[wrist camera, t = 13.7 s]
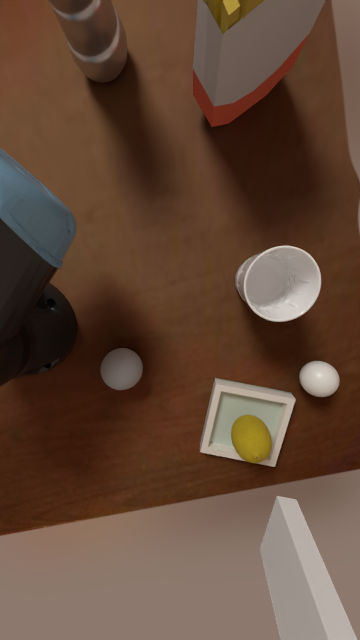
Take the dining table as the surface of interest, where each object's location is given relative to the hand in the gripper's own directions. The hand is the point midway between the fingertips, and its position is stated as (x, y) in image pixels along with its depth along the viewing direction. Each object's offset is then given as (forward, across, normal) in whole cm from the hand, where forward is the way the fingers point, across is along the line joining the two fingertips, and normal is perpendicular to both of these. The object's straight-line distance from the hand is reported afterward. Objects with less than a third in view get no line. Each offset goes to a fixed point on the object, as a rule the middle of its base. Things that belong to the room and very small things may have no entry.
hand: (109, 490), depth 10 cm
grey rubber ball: (+29, -6, -7) cm, 30 cm away
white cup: (+29, +11, +9) cm, 32 cm away
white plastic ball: (+29, +22, -3) cm, 36 cm away
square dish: (+29, +14, -13) cm, 34 cm away
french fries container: (+29, +3, +31) cm, 42 cm away
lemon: (+28, +14, -13) cm, 34 cm away
